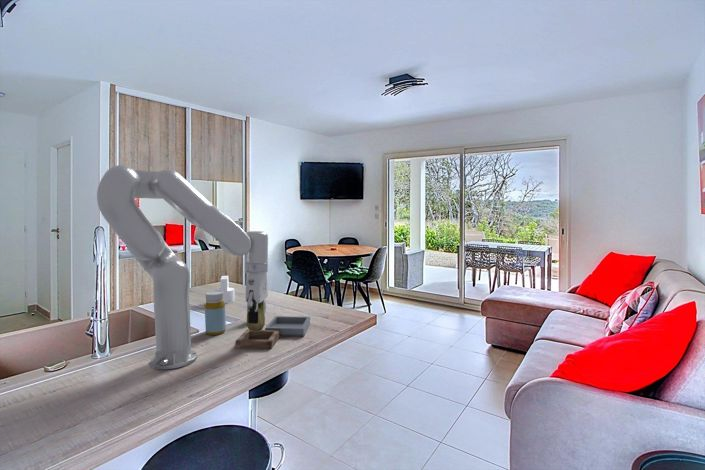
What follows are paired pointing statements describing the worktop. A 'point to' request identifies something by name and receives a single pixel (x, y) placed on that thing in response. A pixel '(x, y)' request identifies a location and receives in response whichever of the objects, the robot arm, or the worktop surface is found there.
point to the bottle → (215, 313)
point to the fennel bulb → (261, 318)
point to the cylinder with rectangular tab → (226, 290)
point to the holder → (258, 344)
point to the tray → (289, 325)
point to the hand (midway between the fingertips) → (255, 320)
